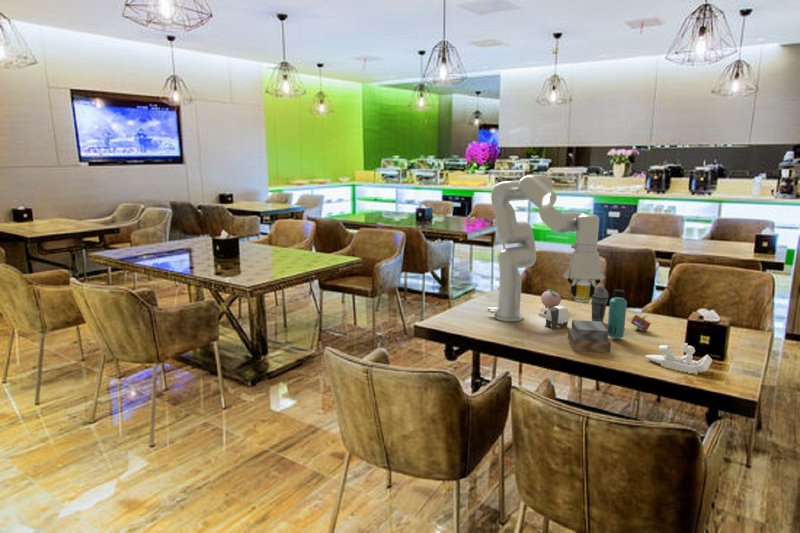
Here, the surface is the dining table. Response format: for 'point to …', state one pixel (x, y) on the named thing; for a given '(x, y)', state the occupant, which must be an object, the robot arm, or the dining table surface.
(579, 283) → the supplement bottle
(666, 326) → the dining table surface
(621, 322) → the beverage bottle
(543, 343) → the dining table surface
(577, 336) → the mottled stone block
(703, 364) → the toy boat
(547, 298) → the decorative fruit
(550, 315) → the giant panda
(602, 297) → the beverage cup
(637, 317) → the geometric puzzle
